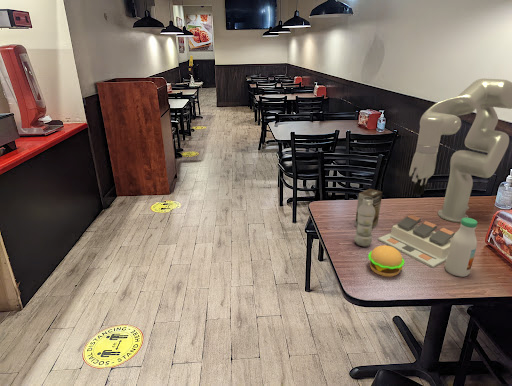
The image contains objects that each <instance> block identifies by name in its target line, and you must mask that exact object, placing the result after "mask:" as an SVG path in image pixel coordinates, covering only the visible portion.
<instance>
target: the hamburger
mask: <svg viewBox="0 0 512 386" xmlns="http://www.w3.org/2000/svg"><path fill="white" fill-rule="evenodd" d="M367 258H368V260H369V261H370V263H369V267H370V269H371V270H372V272H374V273H375V274H377V275H379V276H382V277H387V278H389V277H390V278H391V277H395V276H397V275H398V274H399V273H400V272H401V271H402V270H403V268H404V265H405V259H404V258H403V255H402V252H400V251H398V250H397V249H395V248H394V247H391V246H389V245H387V244H384V245H383V244H382V245H379V246H375V247H374V248H373V249H372V250H371V251H370V252H369V253H368V256H367Z"/></svg>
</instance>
